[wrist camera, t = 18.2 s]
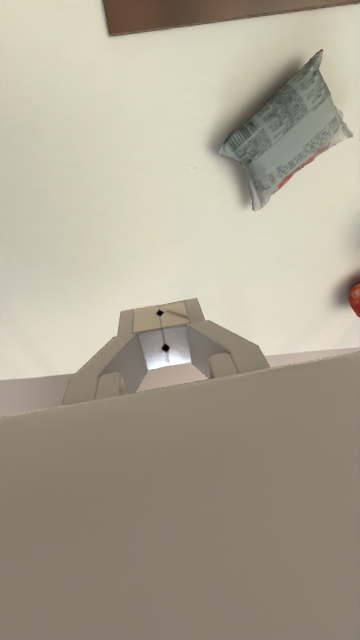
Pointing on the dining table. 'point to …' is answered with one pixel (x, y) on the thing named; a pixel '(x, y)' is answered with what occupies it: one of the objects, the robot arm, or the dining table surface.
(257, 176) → the packaged food
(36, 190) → the dining table surface
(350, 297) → the pomegranate
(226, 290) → the dining table surface
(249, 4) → the ruler
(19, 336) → the dining table surface
